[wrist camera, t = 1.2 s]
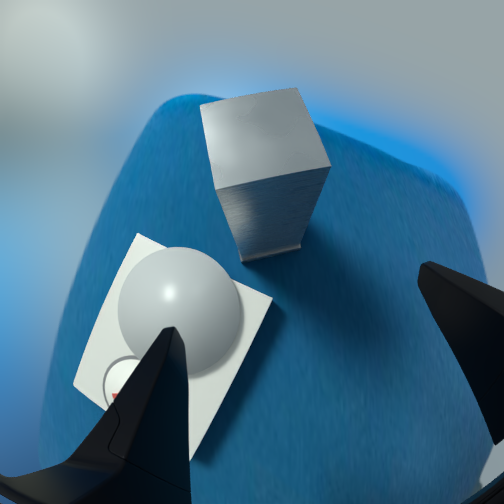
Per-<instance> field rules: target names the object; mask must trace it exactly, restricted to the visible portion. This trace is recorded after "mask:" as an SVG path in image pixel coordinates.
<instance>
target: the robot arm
mask: <svg viewBox="0 0 504 504" xmlns="http://www.w3.org/2000/svg"><path fill="white" fill-rule="evenodd" d="M418 287H419V289H420V291H421V293H422V295H423V297H424V299H425V301H426V303H427V305H428V307H429V309H430V311H431V314H432V316H433V318H434V319H435V321H436V323H437V325H438V326H439V328H440V330H441V332H442V333H443V335H444V337H445V339H446V340H447V342H448V344H449V346H450V348H451V349H452V351H453V353H454V355H455V357H456V359H457V361H458V363H459V365H460V367H461V369H462V371H463V373H464V375H465V377H466V379H467V381H468V383H469V385H470V387H471V389H472V391H473V393H474V396H475V398H476V400H477V402H478V405H479V407H480V410H481V412H482V414H483V417H484V419H485V422H486V424H487V427H488V429H489V432H490V435H491V437H492V440H493V443H494V445H497V444H498V443H499V442H501V441H502V440H503V439H504V292H503V291H501V290H499V289H496V288H494V287H492V286H490V285H487V284H485V283H483V282H480V281H478V280H476V279H473V278H471V277H469V276H466V275H464V274H461V273H459V272H457V271H454V270H452V269H449V268H447V267H444V266H442V265H439V264H437V263H434V262H432V261H428V262H425V263H422V264H421V266H420V270H419V276H418ZM113 402H114V403H113ZM113 402H112V403H111V404H110V406H109V407H108V409H107V410H106V412H105V413H104V415H103V416H102V417H101V419H100V420H99V422H98V423H97V424H96V426H95V427H94V428H93V429H92V431H91V432H90V433H89V434H88V436H87V437H86V438H85V439H84V441H83V442H82V443H81V444H80V445H79V447H78V448H77V449H76V450H75V452H74V453H73V454H72V455H71V456H70V457H69V458H68V459H67V460H65V461H64V462H62V463H60V464H58V465H55V466H52V467H49V468H46V469H43V470H40V471H36V472H33V473H30V474H26V475H22V476H18V477H5V476H3V475H1V474H0V494H1V495H2V496H4V497H6V498H8V499H9V500H11V501H13V502H15V503H17V504H192V502H191V493H190V492H191V487H190V462H189V382H188V372H187V362H186V351H185V344H184V341H183V339H182V338H181V336H180V334H179V332H178V330H177V328H176V327H174V326H171V327H165V328H163V329H162V330H161V332H160V333H159V335H158V336H157V338H156V339H155V340H154V342H153V343H152V345H151V346H150V348H149V349H148V350H147V352H146V353H145V355H144V356H143V358H142V359H141V360H140V362H139V363H138V365H137V366H136V368H135V369H134V371H133V372H132V374H131V375H130V376H129V378H128V379H127V381H126V382H125V384H124V385H123V387H122V388H121V390H120V391H119V393H118V394H117V396H116V397H115V399H114V400H113ZM0 504H1V503H0ZM461 504H504V472H503V473H502V474H500V475H499V476H498V477H497V478H495V479H494V480H493V481H492V482H491V483H489V484H488V485H487V486H485V487H484V488H482V489H481V490H480V491H478V492H477V493H476V494H474V495H473V496H471V497H470V498H468V499H467V500H465V501H464V502H462V503H461Z"/></svg>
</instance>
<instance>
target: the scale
mask: <svg viewBox="0 0 504 504" xmlns="http://www.w3.org/2000/svg"><path fill="white" fill-rule="evenodd" d="M272 299H273V298H271V297H269V296H267V295H265V294H262V293H260V292H258V291H256V290H254V289H251V288H249V287H247V286H245V285H243V284H241V283H239V282H236V281H234V280H232V279H230V277H229V275H228V274H227V273H226V271H225V270H224V269H223V268H222V267H221V266H220V265H219V264H218V263H217V262H216V261H215V260H214V259H212V258H211V257H209V256H208V255H206V254H204V253H202V252H200V251H197V250H194V249H190V248H183V247H171V248H166V247H164V246H162V245H160V244H158V243H156V242H154V241H152V240H150V239H148V238H146V237H144V236H143V235H141V234H139V233H137V235H136V237H135V239H134V241H133V243H132V245H131V247H130V249H129V251H128V253H127V255H126V257H125V259H124V261H123V263H122V265H121V267H120V269H119V271H118V273H117V275H116V277H115V279H114V282H113V284H112V286H111V288H110V290H109V293H108V295H107V297H106V299H105V302H104V304H103V306H102V309H101V311H100V313H99V316H98V318H97V320H96V323H95V325H94V328H93V330H92V333H91V335H90V338H89V341H88V343H87V346H86V349H85V351H84V354H83V357H82V360H81V362H80V365H79V368H78V371H77V374H76V377H75V380H74V383H73V385H74V386H75V387H76V388H77V389H78V390H80V391H81V392H82V393H83V394H84V395H86V396H87V397H88V398H89V399H91V400H92V401H93V402H95V403H96V404H97V405H99V406H100V407H101V408H103V409H104V410H105V411H106V410H107V409H108V407H109V406H110V404H111V403H112V402H113V400H114V399H115V397H116V396H117V394H118V393H119V391H120V390H121V388H122V387H123V385H124V384H125V382H126V381H127V379H128V378H129V376H130V375H131V374H132V372H133V371H134V369H135V368H136V366H137V365H138V363H139V362H140V360H141V359H142V358H143V356H144V355H145V353H146V352H147V350H148V349H149V348H150V346H151V345H152V343H153V342H154V340H155V339H156V338H157V336H158V335H159V333H160V332H161V330H162V329H163V328H165V327H171V326H174V327H176V328H177V330H178V332H179V334H180V336H181V338H182V339H183V341H184V344H185V351H186V362H187V372H188V382H189V461H190V460H191V458H192V457H193V455H194V453H195V452H196V450H197V448H198V446H199V444H200V442H201V441H202V439H203V437H204V435H205V433H206V431H207V430H208V428H209V426H210V424H211V422H212V420H213V418H214V416H215V414H216V413H217V411H218V409H219V407H220V405H221V403H222V401H223V399H224V397H225V395H226V393H227V391H228V389H229V387H230V386H231V384H232V382H233V380H234V378H235V376H236V374H237V372H238V370H239V368H240V366H241V364H242V362H243V360H244V358H245V356H246V354H247V352H248V350H249V347H250V345H251V343H252V341H253V339H254V337H255V335H256V333H257V331H258V329H259V327H260V325H261V323H262V321H263V318H264V316H265V314H266V312H267V310H268V308H269V306H270V304H271V301H272ZM113 403H114V402H113Z"/></svg>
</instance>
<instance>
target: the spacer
mask: <svg viewBox="0 0 504 504" xmlns="http://www.w3.org/2000/svg"><path fill="white" fill-rule="evenodd" d="M200 109H201V115H202V121H203V126H204V132H205V137H206V143H207V148H208V153H209V159H210V164H211V169H212V175H213V180H214V185H215V190H216V193H217V195H218V198H219V200H220V203H221V205H222V208H223V211H224V213H225V216H226V218H227V221H228V224H229V226H230V229H231V231H232V234H233V236H234V239H235V242H236V244H237V247H238V250H239V255H240V259H241V263H246V262H250V261H255V260H259V259H263V258H268V257H272V256H276V255H280V254H285V253H289V252H293V251H298V250H300V249H301V245H300V242H301V240H302V237H303V235H304V232H305V230H306V228H307V225H308V223H309V220H310V218H311V216H312V213H313V211H314V208H315V206H316V203H317V201H318V198H319V196H320V193H321V191H322V188H323V186H324V183H325V181H326V178H327V176H328V173H329V171H330V168H331V164H330V162H329V159H328V157H327V154H326V152H325V149H324V147H323V144H322V142H321V140H320V137H319V135H318V133H317V130H316V128H315V126H314V123H313V121H312V119H311V117H310V115H309V112H308V110H307V108H306V106H305V104H304V102H303V100H302V98H301V95H300V93H299V92H298V89H297V88H289V89H281V90H274V91H268V92H262V93H256V94H250V95H245V96H240V97H235V98H230V99H225V100H221V101H216V102H212V103H208V104H204V105H200Z"/></svg>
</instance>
